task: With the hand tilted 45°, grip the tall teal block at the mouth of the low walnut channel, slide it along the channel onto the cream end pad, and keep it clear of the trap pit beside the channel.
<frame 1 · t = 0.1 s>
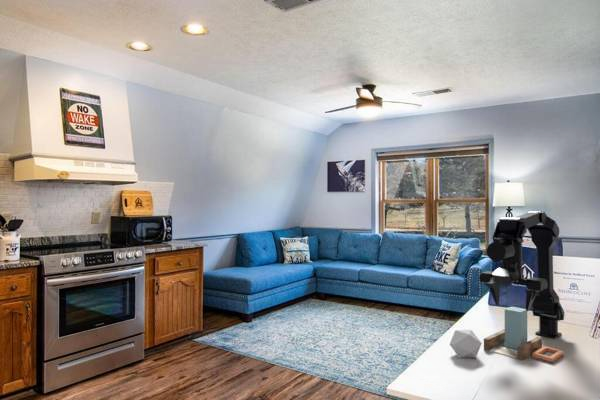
hand: (512, 307, 132), 15 cm above the table, tool pointing down, fingers open, 9 cm apart
trap pit: (548, 356, 130), on the table
channel: (512, 348, 137), on the table
block: (516, 347, 139), on the table
die: (465, 356, 132), on the table
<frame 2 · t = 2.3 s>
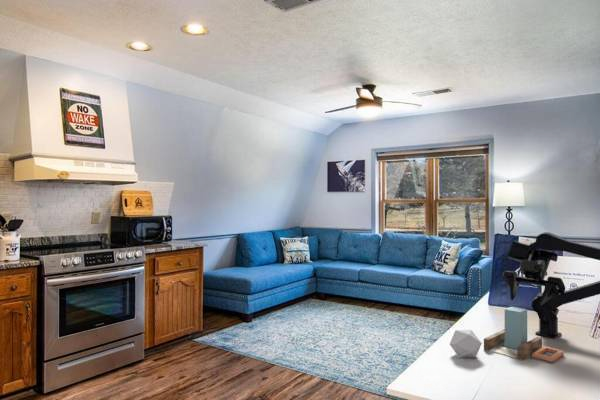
hand: (525, 302, 143), 14 cm above the table, tool tilted 45°, fingers open, 9 cm apart
nothing on the table moved.
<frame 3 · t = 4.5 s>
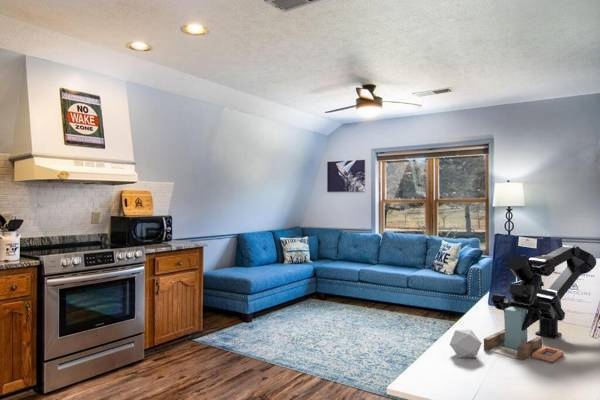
hand: (514, 328, 138), 7 cm above the table, tool tilted 45°, fingers closed on block, 5 cm apart
block: (516, 347, 139), on the table, touching gripper
everything else where it was.
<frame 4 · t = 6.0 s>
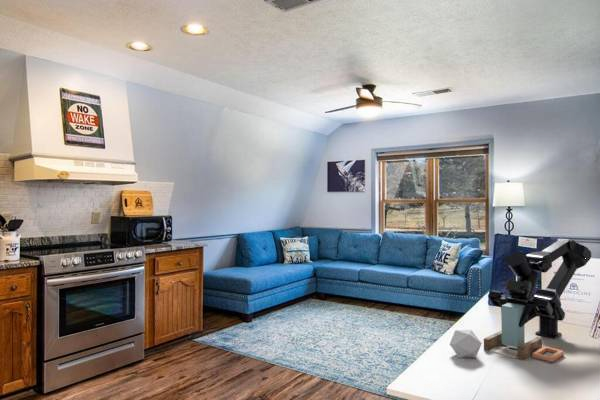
hand: (510, 324, 136), 8 cm above the table, tool tilted 45°, fingers closed on block, 5 cm apart
block: (513, 344, 137), point 2 cm above the table, touching gripper
everything else where it was.
when the fingers open (7 cm above the table, at t = 7.8 s): block stays where it is, resting on channel.
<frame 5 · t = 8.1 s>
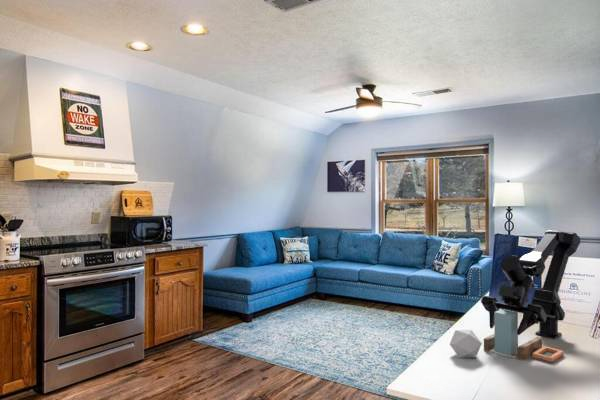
hand: (504, 331, 133), 7 cm above the table, tool tilted 45°, fingers open, 8 cm apart
block: (506, 351, 134), resting on channel
everything else where it was.
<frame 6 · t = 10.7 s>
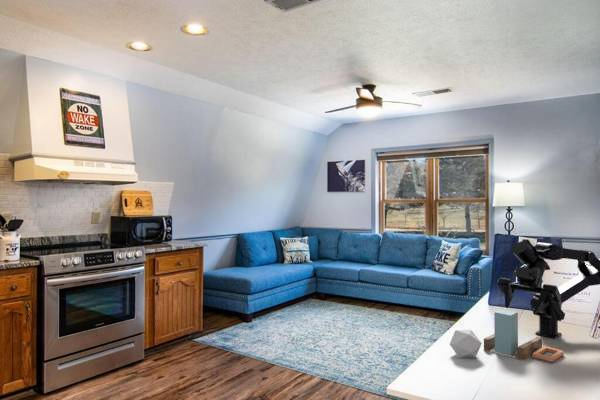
hand: (520, 310, 140), 12 cm above the table, tool tilted 45°, fingers open, 9 cm apart
nothing on the table moved.
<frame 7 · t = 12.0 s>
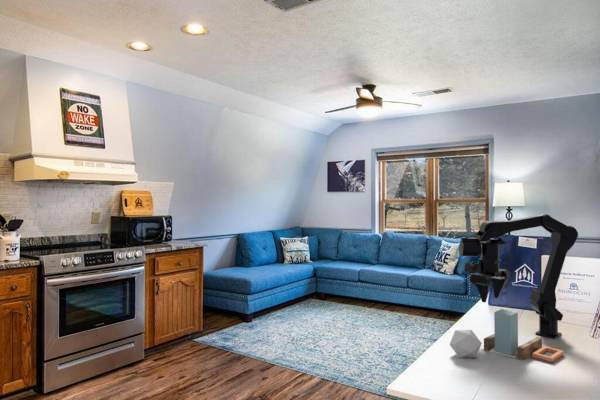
hand: (490, 300, 152), 12 cm above the table, tool pointing down, fingers open, 9 cm apart
nothing on the table moved.
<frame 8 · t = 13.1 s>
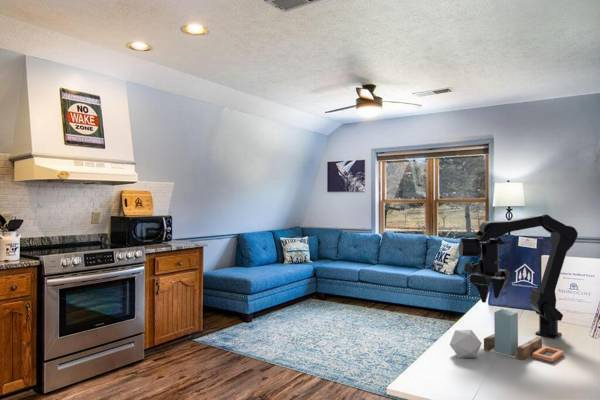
hand: (490, 300, 152), 12 cm above the table, tool pointing down, fingers open, 9 cm apart
nothing on the table moved.
at the end: block 0.1 cm from the target spot, resting on channel; block tilted 0°; block touching channel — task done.
